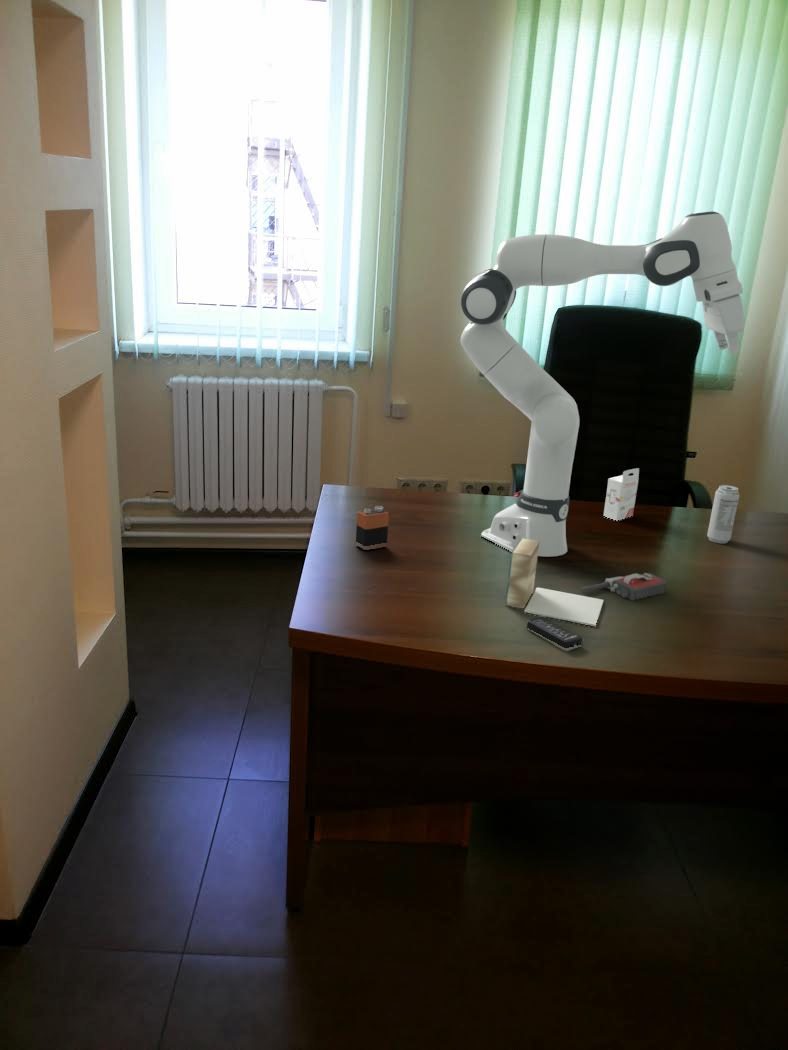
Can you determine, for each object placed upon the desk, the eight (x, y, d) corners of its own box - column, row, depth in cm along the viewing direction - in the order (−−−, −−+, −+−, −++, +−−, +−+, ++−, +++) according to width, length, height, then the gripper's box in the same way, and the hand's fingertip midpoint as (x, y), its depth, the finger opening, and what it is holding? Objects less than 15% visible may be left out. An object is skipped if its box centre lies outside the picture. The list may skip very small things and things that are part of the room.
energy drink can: (726, 537, 228) (736, 485, 223) (732, 545, 222) (743, 491, 218) (703, 535, 229) (714, 483, 224) (709, 543, 223) (720, 489, 218)
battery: (387, 547, 203) (390, 508, 200) (364, 552, 199) (366, 512, 196) (377, 542, 206) (379, 503, 203) (354, 546, 202) (356, 507, 199)
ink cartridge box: (618, 512, 245) (626, 464, 240) (633, 516, 242) (641, 467, 237) (601, 517, 239) (609, 467, 235) (616, 521, 236) (624, 471, 231)
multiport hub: (541, 626, 166) (543, 615, 166) (581, 648, 158) (583, 637, 157) (525, 630, 164) (526, 619, 163) (565, 653, 155) (566, 642, 155)
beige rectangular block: (505, 605, 174) (511, 552, 170) (515, 589, 183) (521, 538, 179) (523, 609, 173) (530, 555, 169) (532, 592, 182) (539, 541, 178)
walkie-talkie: (640, 579, 195) (578, 593, 184) (643, 562, 193) (581, 575, 183) (670, 593, 188) (607, 608, 177) (673, 575, 186) (610, 589, 176)
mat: (524, 613, 171) (524, 610, 171) (536, 589, 183) (537, 587, 183) (595, 627, 166) (595, 624, 166) (603, 602, 179) (603, 599, 179)
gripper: (691, 290, 188) (703, 350, 192) (712, 294, 169) (725, 360, 173) (720, 282, 187) (731, 342, 191) (744, 284, 168) (756, 351, 171)
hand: (728, 350), depth 181 cm, fingers open, 8 cm apart
